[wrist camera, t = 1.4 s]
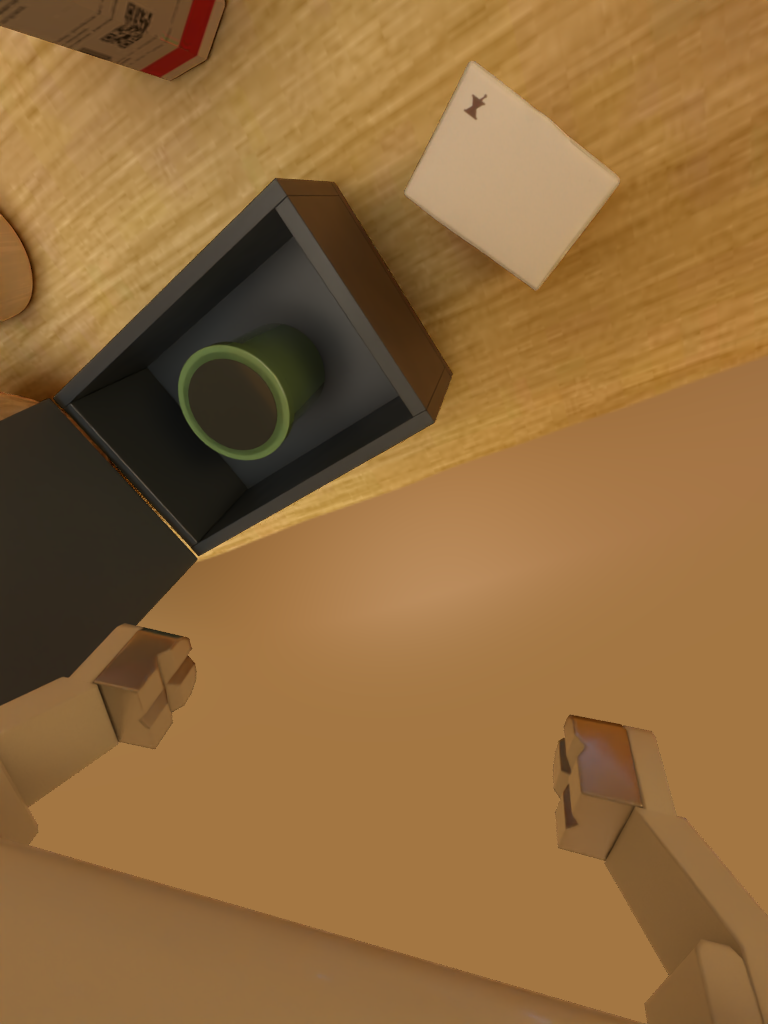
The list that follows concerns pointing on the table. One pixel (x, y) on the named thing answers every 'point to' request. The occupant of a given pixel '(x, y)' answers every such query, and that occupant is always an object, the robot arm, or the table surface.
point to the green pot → (251, 390)
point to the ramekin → (13, 273)
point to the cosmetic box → (508, 178)
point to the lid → (70, 550)
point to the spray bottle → (123, 29)
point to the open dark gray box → (237, 310)
